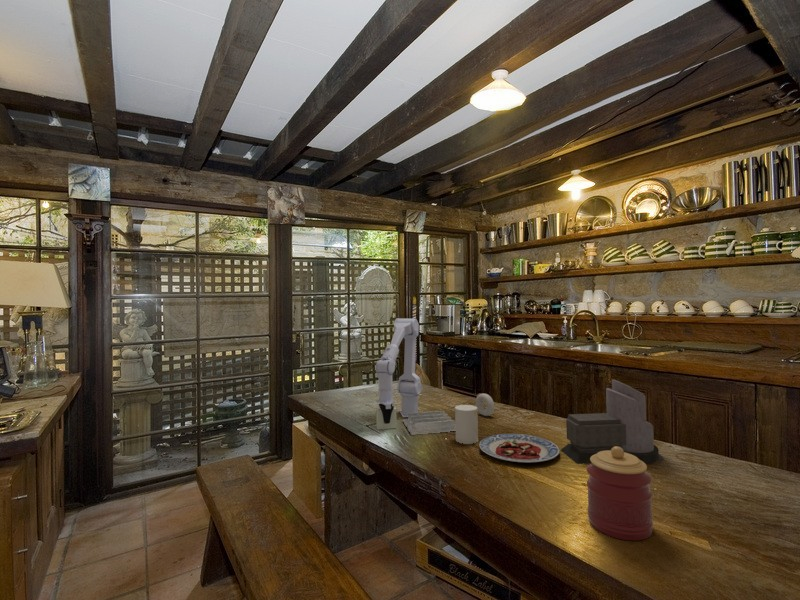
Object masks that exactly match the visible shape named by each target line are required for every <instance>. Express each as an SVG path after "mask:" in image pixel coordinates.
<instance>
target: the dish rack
mask: <svg viewBox="0 0 800 600" xmlns="http://www.w3.org/2000/svg"><path fill="white" fill-rule="evenodd" d="M403 422H404V423H403ZM402 423H403V425H404V426H405V427H407V428H406V429H407V431H408V432H410V433H409V434H411V435H410V436H416V435H415V434H423V435H429V434H428V433H436V434H441V433H440V432H448V433H451V432H450V431H456V429H455V419H452V417H451V416H449V414H448V413H446V411H445V410H434V411H432V410H431V411H423V412H422V411H421V412H420V411H418V413H408V417H407V418H406V419H405V418H404V419H402Z"/></svg>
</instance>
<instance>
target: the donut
mask: <svg viewBox="0 0 800 600" xmlns="http://www.w3.org/2000/svg"><path fill="white" fill-rule="evenodd" d="M484 403H485V404H486V407H485V405H484ZM475 406H476V407H477V413H479V414H480V415H482V416H483V417H489V416H491V415H493V413H494V411H495V403H494V400H493V398H492V396H490V395H489V394H487V393H480V394H478V395H477V396H476V398H475Z"/></svg>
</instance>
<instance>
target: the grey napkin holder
mask: <svg viewBox="0 0 800 600" xmlns="http://www.w3.org/2000/svg"><path fill="white" fill-rule="evenodd" d="M605 399H606V401H605V404H606V406H605V407H606V412H602V413H601V412H600V413H599V412H598V413H597V412H596V413H576V414H575V413H574V414H573V413H572V414H571V413H570V414H567V418H566V419H565V422H566V425H565V427H566V439H567V440H568V441H570V443H567V444H566V445H565V446H563V448H561V449H560V452H562V453H563V454H564V455H565V456H566V457H568V458H569V459H570V460H572V461H573V462H574V463H575V464H576V465H581V464H582V465H583V463H587V464H590V463H591V461H590V457H591V456H592V455H594V454H597V453H598V452H600V451H606V450H611V449H612V448H613V447H615V446H618V447H621V448H622V449H623V451H624V452H626V453H629V454H632V455H634V456H636V457H637V458H638V459H639V460H641V461H643V462H644V463H645V464H646V465H648V464H653V463H657V462H658V463H659V462H664V461H665V458H664V457H663V455H661V454H660V453H659V450H660V449H659V447H658V446H656V445H655V443H654V442H655V439H654V435H655V434H654V425H653V424H652V423H651V422H649V421H647V405H646V404H647V401H646V400H647V399H646V395H645V394H644V393H643V392H641V391H639V390H637V389H635V388H634V387H631V386H629V385H628V384H626V383H624V382H623V383H622V382H621V381H619V380H616V379H611V388H608V387H606V388H605Z"/></svg>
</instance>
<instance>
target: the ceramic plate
mask: <svg viewBox="0 0 800 600" xmlns="http://www.w3.org/2000/svg"><path fill="white" fill-rule="evenodd" d="M478 446H479V449H480V450H481V451H482V452H483V453H485V454H487V455H488V456H491V457H493V458H495V459H498V460H503V461H509V462H515V463H516V462H517V463H540V462H546V461H550V460H552V459H555V458H557V457H558V456H559V454H560V448H559V447H558V445H556V444H555V443H554V442H552V441H550V440H548V439H546V438H543V437H539V436H534V435H530V434H522V433H501V434H495V435H490V436H487V437H484V438H483V439H481V440H480V442H479V445H478Z"/></svg>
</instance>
